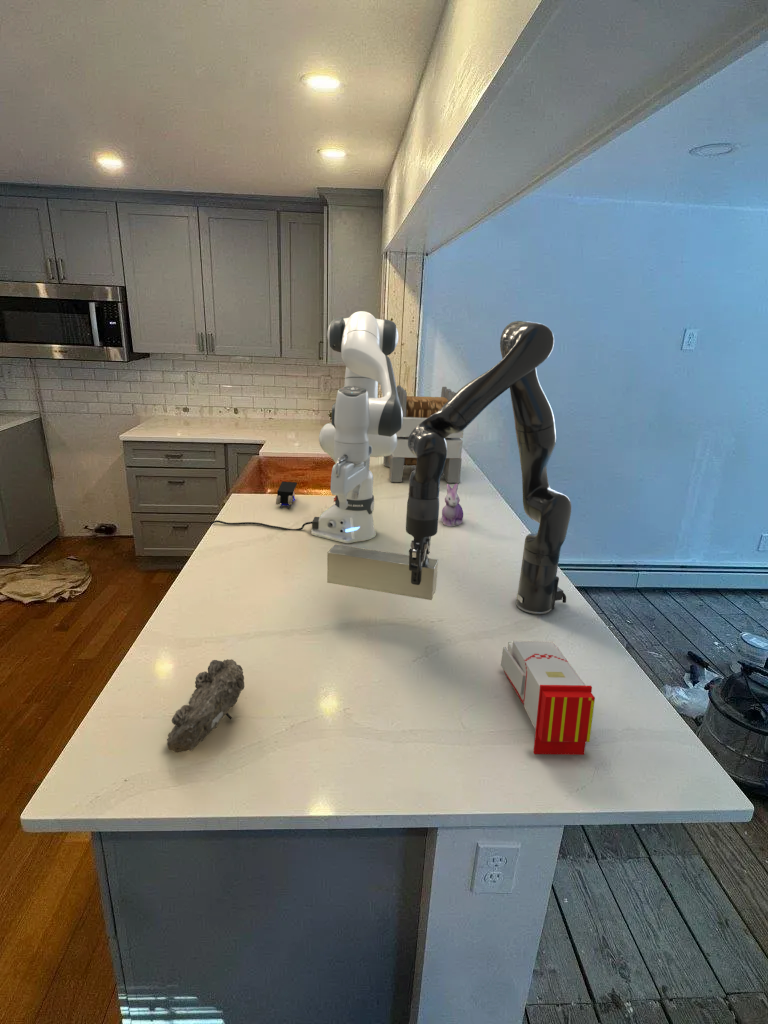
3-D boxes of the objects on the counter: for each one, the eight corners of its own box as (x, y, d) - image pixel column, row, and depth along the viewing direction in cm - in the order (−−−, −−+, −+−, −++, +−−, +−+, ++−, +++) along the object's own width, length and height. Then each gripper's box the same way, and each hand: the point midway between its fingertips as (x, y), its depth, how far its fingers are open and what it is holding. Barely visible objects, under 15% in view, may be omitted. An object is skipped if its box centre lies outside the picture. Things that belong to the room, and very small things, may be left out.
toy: (549, 624, 127) (604, 693, 98) (544, 678, 130) (596, 762, 100) (496, 622, 127) (535, 692, 97) (491, 677, 129) (528, 761, 100)
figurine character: (293, 513, 218) (297, 497, 231) (292, 495, 215) (297, 480, 228) (275, 513, 218) (281, 496, 231) (274, 495, 214) (280, 479, 228)
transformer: (382, 463, 289) (386, 382, 275) (445, 464, 293) (451, 384, 279) (390, 482, 257) (394, 392, 243) (460, 483, 261) (468, 394, 247)
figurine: (448, 528, 206) (452, 489, 201) (433, 519, 215) (436, 481, 210) (470, 525, 210) (473, 486, 205) (454, 516, 219) (457, 479, 214)
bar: (327, 582, 143) (327, 552, 140) (334, 573, 148) (334, 544, 145) (431, 600, 136) (434, 568, 133) (435, 590, 141) (438, 559, 138)
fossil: (192, 660, 117) (244, 628, 112) (224, 691, 120) (276, 661, 115) (142, 746, 98) (202, 712, 93) (182, 779, 101) (242, 748, 96)
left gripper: (349, 461, 135) (347, 516, 139) (374, 445, 153) (372, 495, 158) (324, 458, 136) (323, 513, 140) (352, 443, 155) (350, 492, 159)
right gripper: (432, 526, 125) (427, 594, 131) (443, 506, 138) (439, 568, 144) (399, 521, 127) (395, 589, 133) (413, 502, 140) (410, 564, 146)
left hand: (349, 503), depth 149 cm, fingers open, 8 cm apart
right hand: (418, 578), depth 138 cm, fingers closed on bar, 5 cm apart
